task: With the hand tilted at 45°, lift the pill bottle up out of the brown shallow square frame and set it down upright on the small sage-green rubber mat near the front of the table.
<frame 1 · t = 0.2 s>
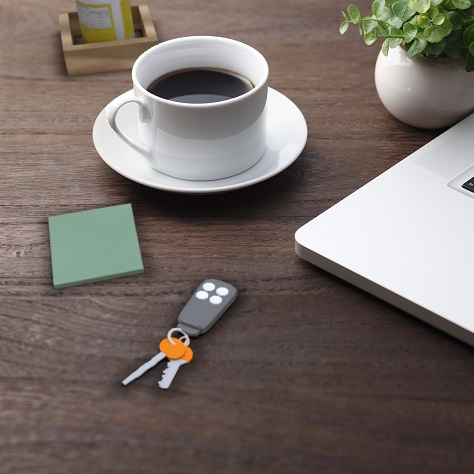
key chain: (184, 340, 71), on the table
green mat: (95, 246, 79), on the table
brown shallow square frame: (111, 49, 108), on the table
pill bottle: (111, 50, 108), resting in brown shallow square frame
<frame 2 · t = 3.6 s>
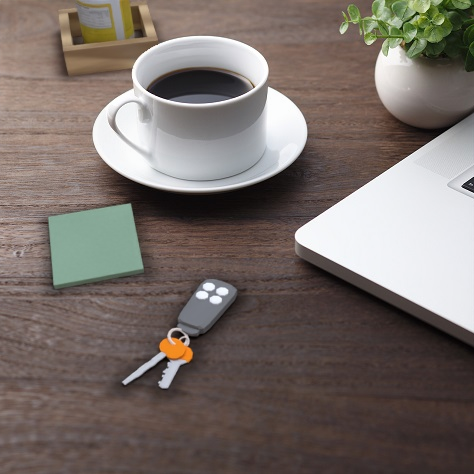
nothing on the table moved.
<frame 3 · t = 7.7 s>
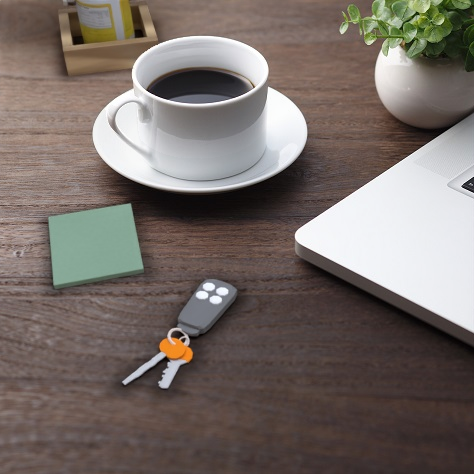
hand: (102, 1, 103), 7 cm above the table, tool tilted 45°, fingers closed on pill bottle, 6 cm apart
pill bottle: (111, 50, 108), resting in brown shallow square frame, touching gripper
everything else where it was.
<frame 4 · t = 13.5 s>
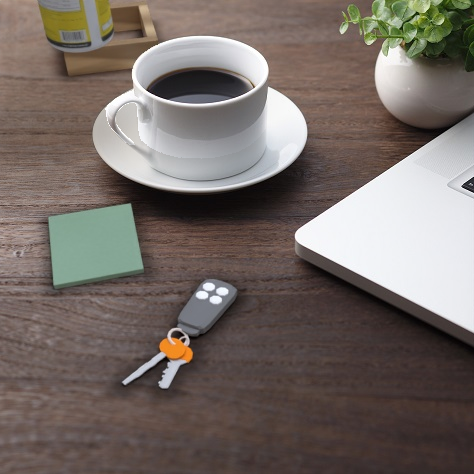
pill bottle: (81, 41, 82), point 13 cm above the table, touching gripper
everything else where it was.
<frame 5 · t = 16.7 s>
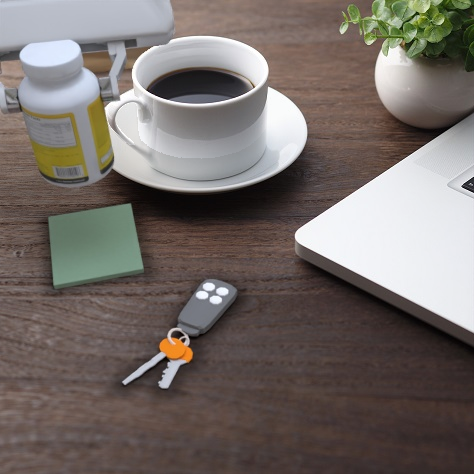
hand: (63, 106, 68), 16 cm above the table, tool tilted 45°, fingers closed on pill bottle, 6 cm apart
pill bottle: (78, 170, 73), point 9 cm above the table, touching gripper
everything else where it was.
when the fingers open (7 cm above the table, at t = 19.6 s): pill bottle stays where it is, resting on green mat.
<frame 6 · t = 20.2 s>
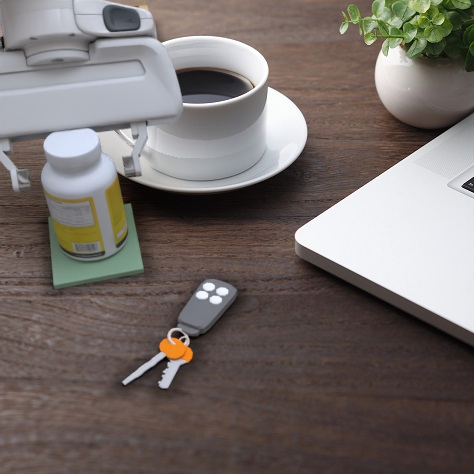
hand: (79, 183, 73), 8 cm above the table, tool tilted 45°, fingers open, 8 cm apart
pill bottle: (94, 242, 79), resting on green mat
everything else where it was.
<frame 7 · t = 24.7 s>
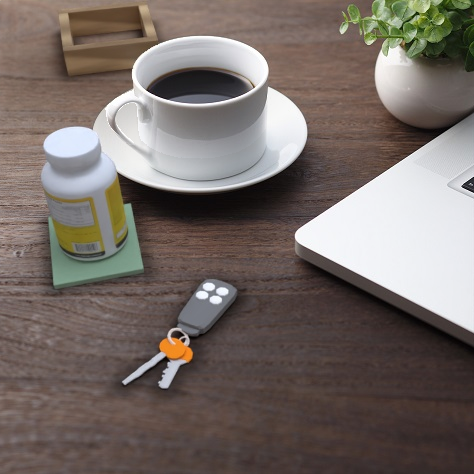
nothing on the table moved.
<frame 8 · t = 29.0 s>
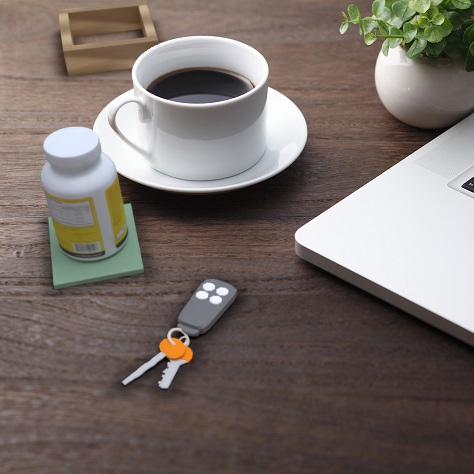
nothing on the table moved.
at the end: pill bottle 0.1 cm off-centre on the green mat, point 0.4 cm above the green mat's base; pill bottle tilted 0°; pill bottle touching green mat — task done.
